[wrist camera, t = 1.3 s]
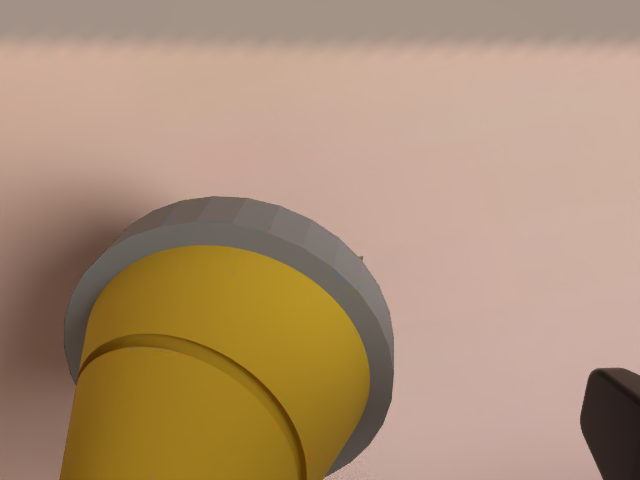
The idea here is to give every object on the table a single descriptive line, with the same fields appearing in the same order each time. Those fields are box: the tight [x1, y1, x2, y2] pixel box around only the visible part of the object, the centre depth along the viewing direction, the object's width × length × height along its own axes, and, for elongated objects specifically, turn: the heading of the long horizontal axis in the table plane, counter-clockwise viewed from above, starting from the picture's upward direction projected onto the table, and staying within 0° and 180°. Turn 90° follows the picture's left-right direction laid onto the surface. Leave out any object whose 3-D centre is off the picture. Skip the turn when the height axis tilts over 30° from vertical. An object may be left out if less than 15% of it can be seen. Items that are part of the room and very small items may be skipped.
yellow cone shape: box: [60, 196, 394, 480], centre depth 8 cm, size 5×5×10 cm
